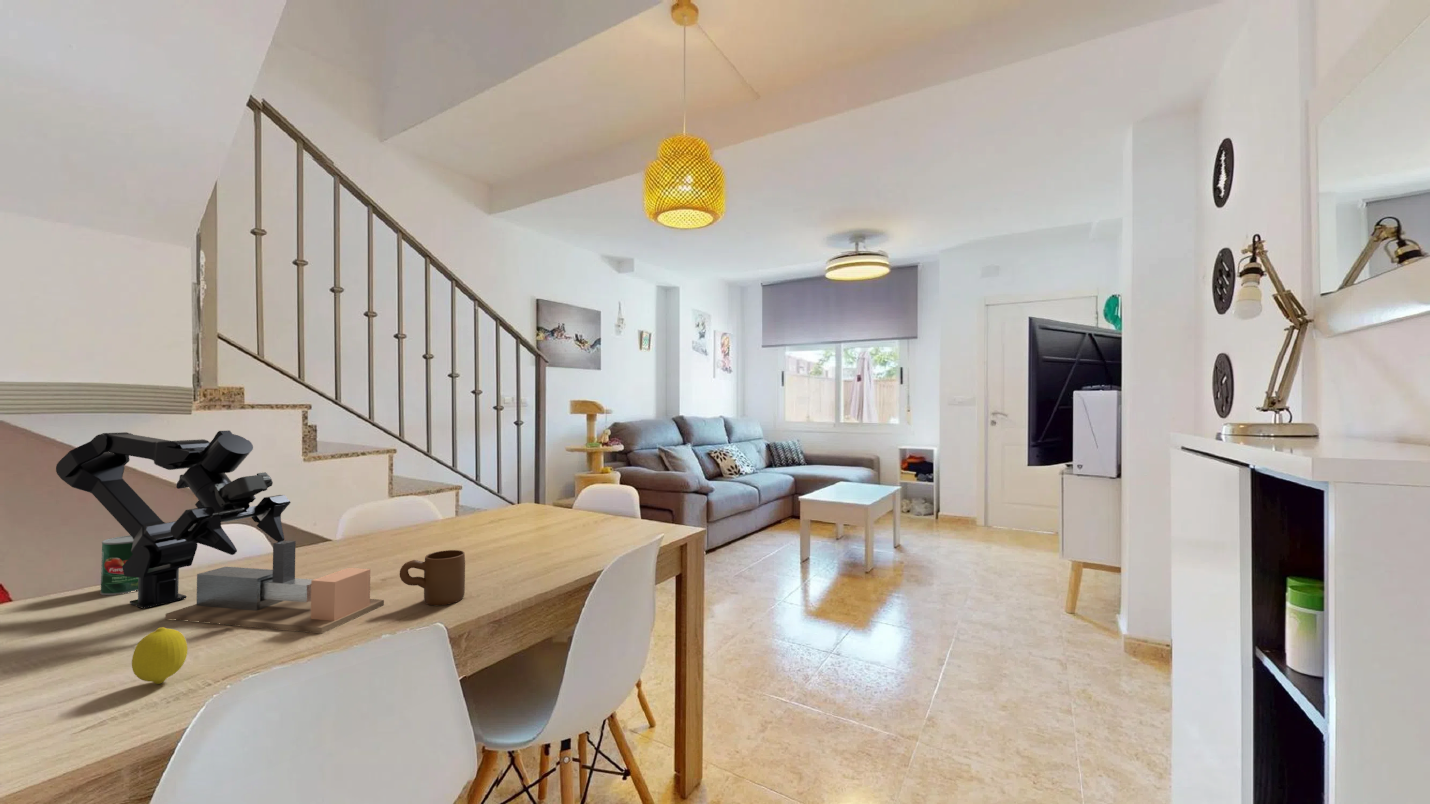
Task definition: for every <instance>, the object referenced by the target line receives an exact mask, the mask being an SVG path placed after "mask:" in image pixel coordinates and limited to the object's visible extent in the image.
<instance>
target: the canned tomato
mask: <svg viewBox="0 0 1430 804" xmlns="http://www.w3.org/2000/svg"><path fill="white" fill-rule="evenodd" d="M133 540H134V539H133V537H132V536H131V535H130V534H129V535H122V536H117V537H113V538H111V537H110V538H108V539H104V540H102V541H101V564H100V565H101V572H100V592H99V593H100V595H101V596H117V595H116V594H119V595H124V594H123V593H126V594H129V593H128V592H131V591H135V590H138V577H126V576H124V572H123V568H122V566H123V565H124V564H125V563H126V561H127V560H128V559H129V558H130V557H131V556H132V555H133V554H132V552H131V550H132V545H133Z"/></svg>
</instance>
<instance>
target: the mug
mask: <svg viewBox="0 0 1430 804" xmlns="http://www.w3.org/2000/svg"><path fill="white" fill-rule="evenodd" d="M410 569H417V570H422V571H423V576H411V575H410V573H409V570H410ZM399 578H400V580H401V582H403V584H405V585H408V586H413V587H414V586H418V587H420V588H422V589H423V600H424V601H423V602H424V603H425V604H426V605H428V606H433V605H440V606H447V604H448V605H451V604H452V605H453V604H455V603H458V602H459V601H462V599H463V598H464V597H465V591H466V586H465V585H466V584H465V583H466V557H465V552H464V551H463V550H457V549H455V550H454V549H449V550H448V549H447V550H439V551H433V552H431V553H428V554H426V556H425V557H424V561H422V560H417V559H413V560H409V561H407V562H404V564H402V566H401V567H400V570H399Z"/></svg>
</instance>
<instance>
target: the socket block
mask: <svg viewBox="0 0 1430 804" xmlns="http://www.w3.org/2000/svg"><path fill="white" fill-rule="evenodd" d="M370 599H371V569H369V568H358V567H347V568H343V569H340V570H338V571H335V572H332V573H329V574H326V575H323V576H320V577H317V578H315V579H314V578H313V580H311V619H319V620H330V621H335V620H337V619H340V618H342V617H344V616H346V615H349V614H351V613H353V612H355V611H358V610H360V609H362V608H364V607H367V606H369V605H370Z"/></svg>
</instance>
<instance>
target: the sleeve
mask: <svg viewBox="0 0 1430 804" xmlns="http://www.w3.org/2000/svg"><path fill="white" fill-rule="evenodd" d="M271 577H273V569H266V568H265V569H264V568H253V567H238V566H237V567H236V566H223V567H218V568H215V569H211V570H207V571H204V572H201V573H200V572H199V573H197V574H196V603H195V604H196V606H206V607H218V608H230V609H242V610H253V611H257V610H260V609H263V608H266V607H268V606H271V605H274V604H277V603H279V602H282V600H270V599H260V581H261V580H264V579H268V578H271Z"/></svg>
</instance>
